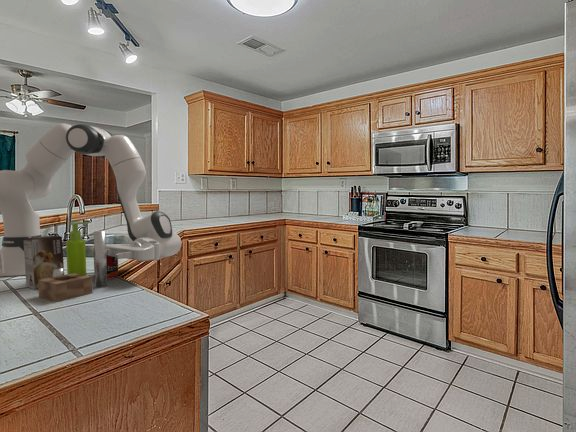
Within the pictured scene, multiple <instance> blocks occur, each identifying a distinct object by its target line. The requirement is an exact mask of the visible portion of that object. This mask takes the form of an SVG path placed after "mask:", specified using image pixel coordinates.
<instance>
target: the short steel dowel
mask: <svg viewBox="0 0 576 432" xmlns="http://www.w3.org/2000/svg"><path fill="white" fill-rule="evenodd" d="M61 275H65V267H64V268H63V267H59V268H53V269H52V277H56V276H61Z"/></svg>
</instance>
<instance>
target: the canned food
mask: <svg viewBox="0 0 576 432" xmlns="http://www.w3.org/2000/svg"><path fill="white" fill-rule="evenodd" d="M106 249H108V248H106ZM106 264H107V280H108V279H113V278H117V277H118V276H119V259H117V258H116V257H112V256H108V255H106ZM93 268H94V269H93V270H94V272H93V273H94V274H95V260H94V259H93Z"/></svg>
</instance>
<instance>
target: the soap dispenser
mask: <svg viewBox="0 0 576 432" xmlns="http://www.w3.org/2000/svg"><path fill="white" fill-rule="evenodd" d="M69 225H70V226H71V227H72V230H71V231H70V232H69V240H68V241H66V245H65V246H66V247H65V249H66V269H67V270H66V271H67V274H72V273H75V274H80V275H85V276H87V260H86V259H87V255H86V240H84V239H82V232H81V231H80V230H79V225H88V222H85V221H84V222H83V221H76V222H69Z"/></svg>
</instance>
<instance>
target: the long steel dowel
mask: <svg viewBox="0 0 576 432" xmlns="http://www.w3.org/2000/svg"><path fill="white" fill-rule="evenodd" d="M106 238H107V237H106V231H105V230H104V231H103V230H101V231H100V230H99V231H98V230H97V231H96V230H95V231H93V261H94V260H95V273H94V283H95V285H94V287H95V288H105V287H107V286H108V279H107V264H106V246H107V244H106V243H107V240H106Z"/></svg>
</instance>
